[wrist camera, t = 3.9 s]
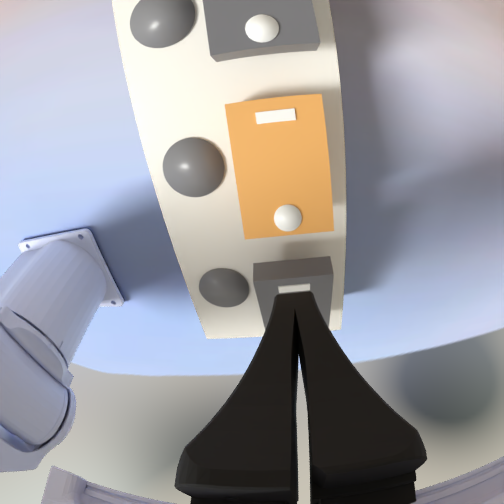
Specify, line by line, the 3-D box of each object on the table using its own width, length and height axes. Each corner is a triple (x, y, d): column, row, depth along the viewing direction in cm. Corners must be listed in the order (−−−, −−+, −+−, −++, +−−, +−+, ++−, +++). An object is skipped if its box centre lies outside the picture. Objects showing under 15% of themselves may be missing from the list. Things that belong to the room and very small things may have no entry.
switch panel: (332, 335, 27) (337, 371, 24) (225, 343, 28) (220, 378, 25) (301, -61, 10) (309, -89, 6) (132, -29, 11) (101, -44, 8)
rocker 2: (329, 222, 14) (334, 231, 13) (247, 230, 15) (244, 240, 14) (317, 96, 12) (321, 93, 11) (228, 106, 13) (224, 104, 11)
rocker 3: (326, 316, 20) (328, 332, 19) (266, 321, 20) (266, 338, 19) (330, 256, 15) (333, 275, 15) (253, 263, 16) (253, 282, 15)
